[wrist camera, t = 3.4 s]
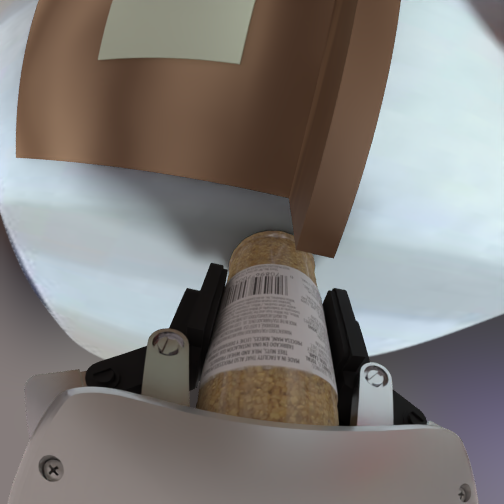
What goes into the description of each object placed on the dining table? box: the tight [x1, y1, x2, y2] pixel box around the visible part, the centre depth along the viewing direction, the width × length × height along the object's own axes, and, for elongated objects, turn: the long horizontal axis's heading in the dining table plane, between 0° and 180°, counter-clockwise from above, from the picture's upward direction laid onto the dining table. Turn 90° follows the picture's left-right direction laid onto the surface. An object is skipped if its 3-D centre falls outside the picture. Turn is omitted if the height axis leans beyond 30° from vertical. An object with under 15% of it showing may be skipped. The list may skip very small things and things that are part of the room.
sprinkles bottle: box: [196, 231, 339, 426], centre depth 9 cm, size 5×5×14 cm
